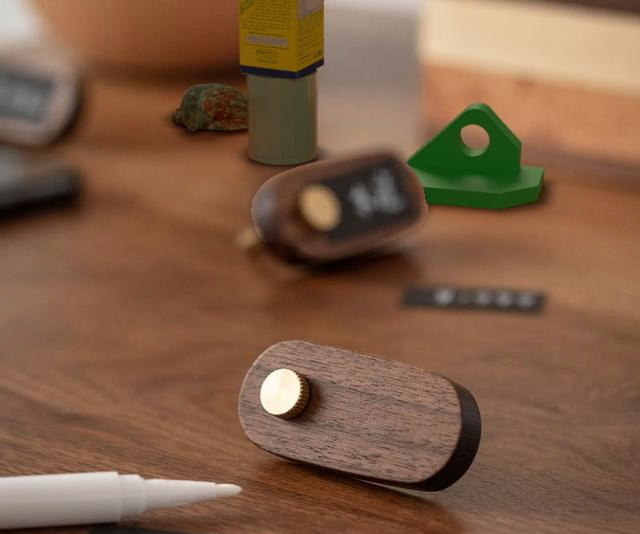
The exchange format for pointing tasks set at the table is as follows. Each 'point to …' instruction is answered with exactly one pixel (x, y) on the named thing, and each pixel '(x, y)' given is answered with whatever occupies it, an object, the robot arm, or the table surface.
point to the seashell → (212, 108)
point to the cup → (282, 119)
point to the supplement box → (281, 37)
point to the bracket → (476, 165)
